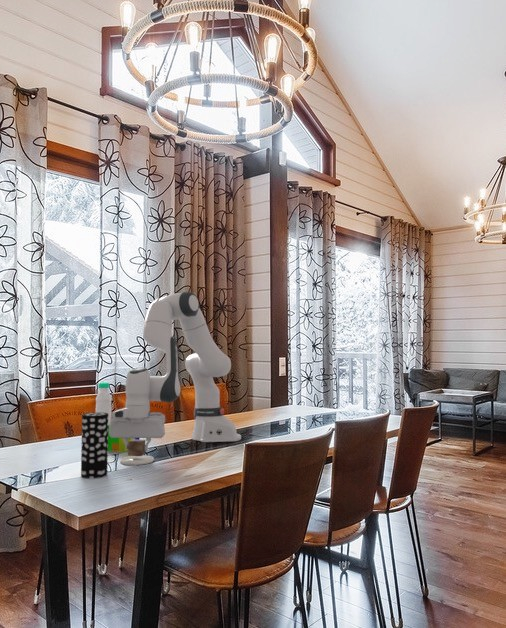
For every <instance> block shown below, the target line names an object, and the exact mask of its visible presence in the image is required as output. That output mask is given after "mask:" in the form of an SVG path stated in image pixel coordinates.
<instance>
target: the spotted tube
mask: <svg viewBox="0 0 506 628" xmlns="http://www.w3.org/2000/svg"><path fill="white" fill-rule="evenodd" d="M108 453H109V451H108V413H96V412H85V413H82V414H81V454H80V457H81V458H80V459H81V462H80V467H81V468H80V477H81V478H83V479H90V480H92V479H93V480H94V479H100V478H104V477H106V476H108V466H109V465H108V457H109V456H108V455H109V454H108Z"/></svg>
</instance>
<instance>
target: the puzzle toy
mask: <svg viewBox="0 0 506 628" xmlns="http://www.w3.org/2000/svg"><path fill="white" fill-rule="evenodd" d="M109 426H110V425H108V452H118V453H128V450H126V445H125V444H124V442H123V438H111V437H110V436H109ZM132 439H138V440H141V438H128V440H127V442H129V441H131V440H132Z"/></svg>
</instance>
